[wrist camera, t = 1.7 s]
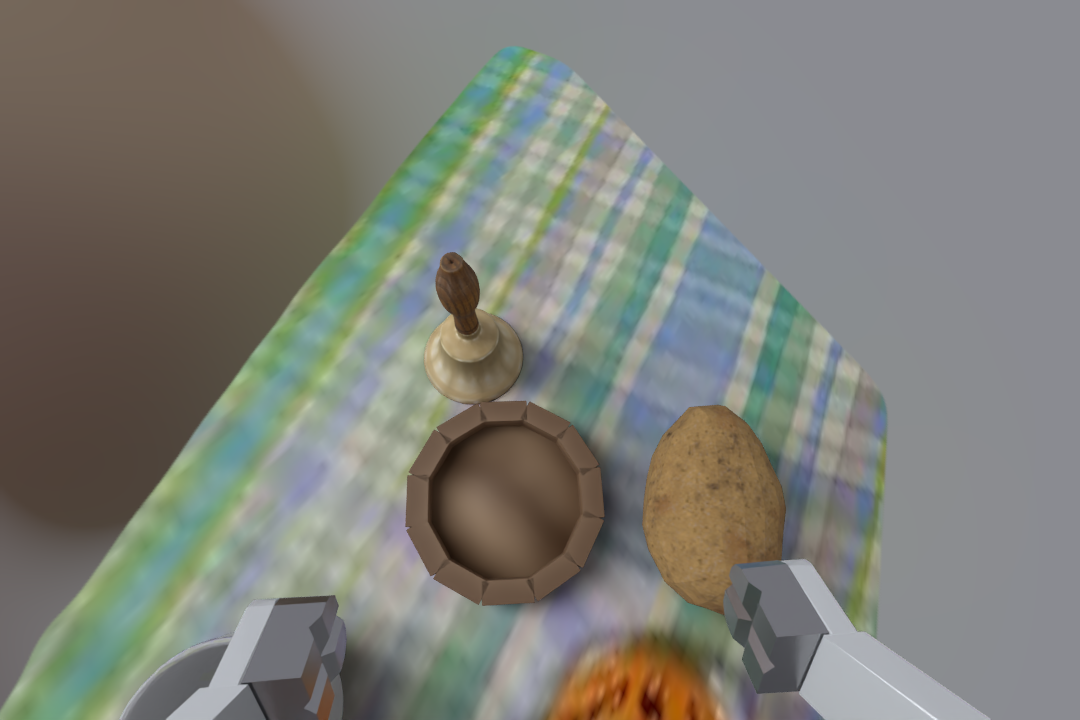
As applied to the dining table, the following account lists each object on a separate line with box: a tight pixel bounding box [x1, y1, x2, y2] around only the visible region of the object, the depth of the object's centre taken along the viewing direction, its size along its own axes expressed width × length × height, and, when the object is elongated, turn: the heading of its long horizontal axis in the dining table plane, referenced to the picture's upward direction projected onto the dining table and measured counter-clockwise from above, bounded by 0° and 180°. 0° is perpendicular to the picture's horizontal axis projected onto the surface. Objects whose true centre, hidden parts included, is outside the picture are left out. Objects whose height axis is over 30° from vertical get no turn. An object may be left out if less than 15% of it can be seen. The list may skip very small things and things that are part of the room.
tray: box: [406, 401, 605, 606], centre depth 37 cm, size 14×14×3 cm
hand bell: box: [424, 252, 523, 404], centre depth 35 cm, size 8×8×16 cm
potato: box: [642, 405, 786, 615], centre depth 36 cm, size 10×14×8 cm
